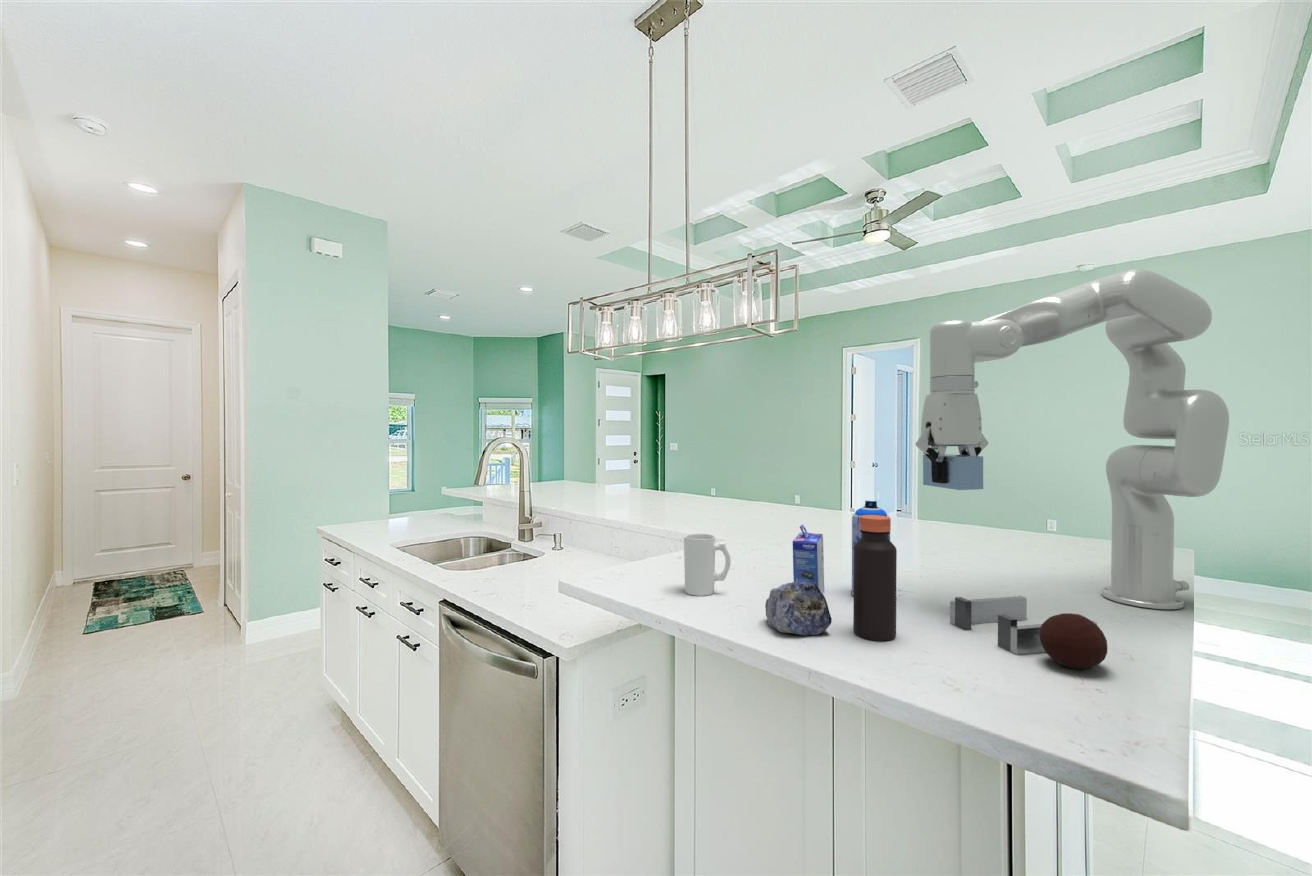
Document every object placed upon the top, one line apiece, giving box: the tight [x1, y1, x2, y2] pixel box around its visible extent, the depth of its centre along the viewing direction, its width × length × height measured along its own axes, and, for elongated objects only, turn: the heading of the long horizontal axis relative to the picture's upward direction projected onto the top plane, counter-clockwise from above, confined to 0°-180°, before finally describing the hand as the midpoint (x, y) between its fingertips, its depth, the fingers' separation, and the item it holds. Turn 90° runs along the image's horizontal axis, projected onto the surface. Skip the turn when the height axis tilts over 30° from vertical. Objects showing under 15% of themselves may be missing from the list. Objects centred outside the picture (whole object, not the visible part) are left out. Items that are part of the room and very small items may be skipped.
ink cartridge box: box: [792, 523, 825, 594], centre depth 118 cm, size 10×6×14 cm, turn 157°
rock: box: [764, 581, 833, 637], centre depth 98 cm, size 11×10×10 cm
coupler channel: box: [949, 595, 1098, 656], centre depth 94 cm, size 15×14×5 cm
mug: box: [683, 533, 732, 597], centre depth 119 cm, size 10×7×12 cm, turn 72°
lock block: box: [922, 453, 984, 491], centre depth 106 cm, size 5×10×6 cm, turn 10°
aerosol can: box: [850, 500, 891, 598], centre depth 116 cm, size 8×8×20 cm
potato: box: [1039, 612, 1108, 670], centre depth 81 cm, size 8×9×8 cm
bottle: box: [852, 515, 898, 642], centre depth 94 cm, size 7×7×20 cm
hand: (952, 481), depth 106 cm, fingers closed on lock block, 5 cm apart
